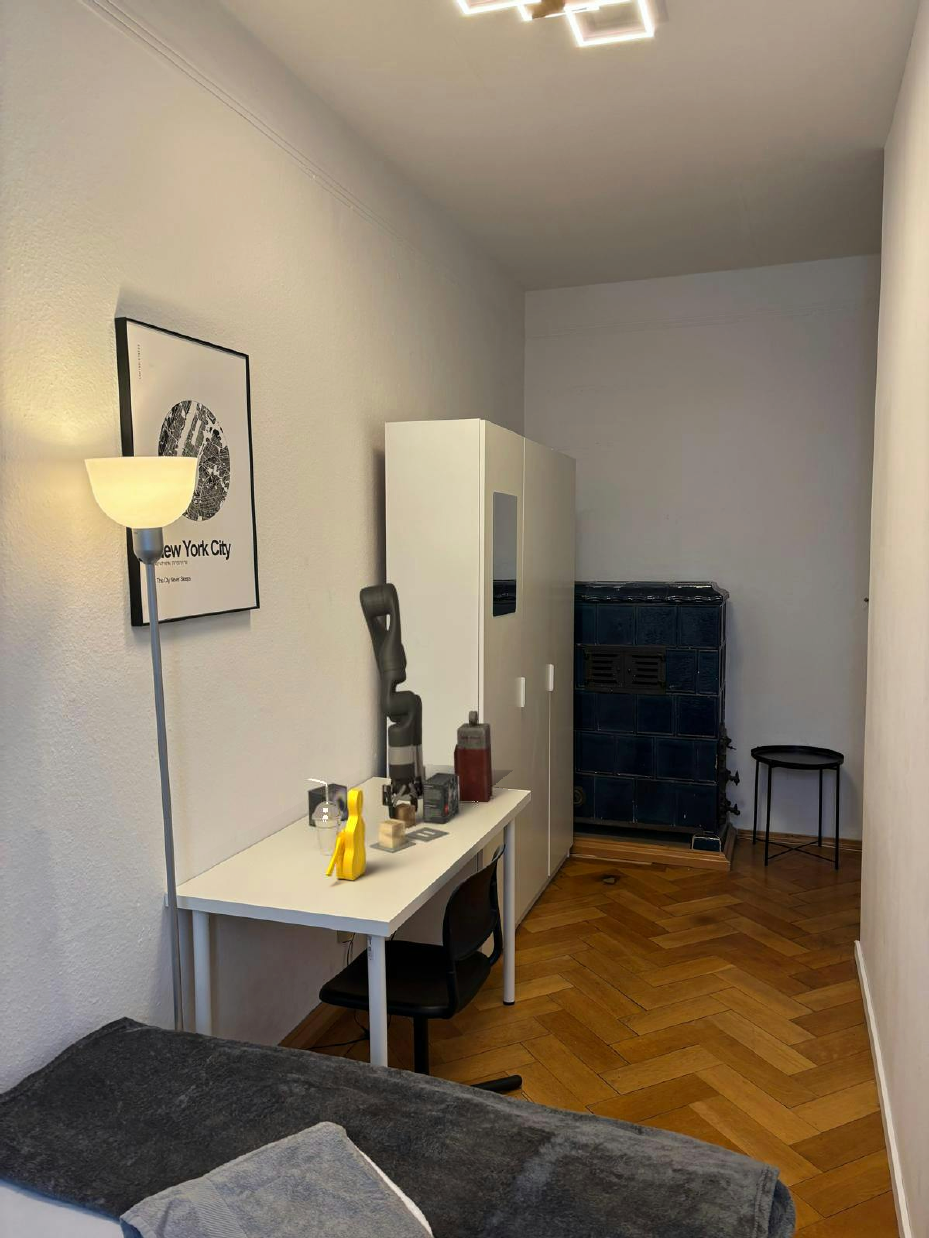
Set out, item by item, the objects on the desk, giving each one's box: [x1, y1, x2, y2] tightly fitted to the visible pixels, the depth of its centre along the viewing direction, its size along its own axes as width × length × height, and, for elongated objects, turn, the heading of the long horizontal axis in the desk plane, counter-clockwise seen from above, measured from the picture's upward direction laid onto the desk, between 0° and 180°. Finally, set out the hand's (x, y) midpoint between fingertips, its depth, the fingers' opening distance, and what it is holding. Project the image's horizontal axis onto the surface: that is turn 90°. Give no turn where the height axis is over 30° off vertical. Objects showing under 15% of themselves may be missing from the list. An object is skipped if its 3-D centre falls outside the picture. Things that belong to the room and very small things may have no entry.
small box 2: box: [422, 772, 460, 825], centre depth 283 cm, size 13×7×12 cm, turn 161°
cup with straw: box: [307, 777, 344, 856], centre depth 254 cm, size 8×9×20 cm
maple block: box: [378, 818, 407, 848], centre depth 258 cm, size 5×5×6 cm
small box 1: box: [307, 782, 349, 828], centre depth 282 cm, size 11×6×10 cm, turn 143°
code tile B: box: [369, 840, 417, 854], centre depth 259 cm, size 9×9×1 cm
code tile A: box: [405, 826, 449, 843], centre depth 267 cm, size 9×9×1 cm
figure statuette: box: [325, 788, 367, 881], centre depth 235 cm, size 18×8×22 cm, turn 159°
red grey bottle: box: [453, 710, 493, 803], centre depth 302 cm, size 9×11×28 cm
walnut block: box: [395, 802, 416, 830], centre depth 276 cm, size 5×5×6 cm
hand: (403, 815), depth 276 cm, fingers open, 8 cm apart
